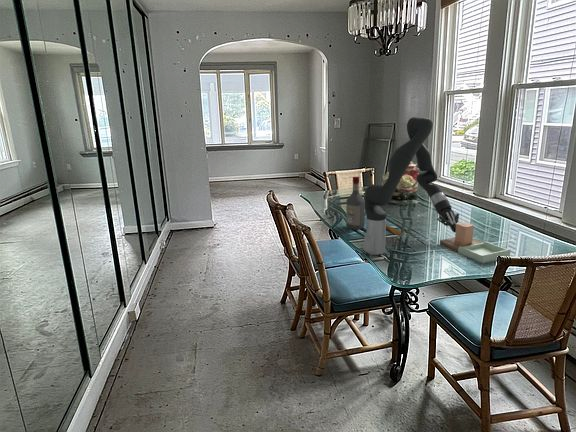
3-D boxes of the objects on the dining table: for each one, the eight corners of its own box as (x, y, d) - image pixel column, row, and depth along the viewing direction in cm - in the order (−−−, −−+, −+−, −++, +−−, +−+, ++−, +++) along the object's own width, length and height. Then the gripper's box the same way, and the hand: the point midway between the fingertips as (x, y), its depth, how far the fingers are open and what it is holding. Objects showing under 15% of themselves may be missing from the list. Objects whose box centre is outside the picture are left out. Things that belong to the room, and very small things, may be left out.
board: (457, 252, 181) (458, 247, 181) (439, 244, 192) (440, 240, 191) (483, 247, 187) (483, 242, 186) (464, 240, 197) (464, 235, 197)
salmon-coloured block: (464, 244, 184) (465, 227, 182) (454, 240, 190) (456, 223, 187) (472, 243, 186) (473, 225, 183) (462, 239, 191) (464, 222, 189)
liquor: (357, 230, 218) (358, 179, 210) (344, 227, 224) (344, 177, 216) (366, 226, 224) (367, 176, 216) (353, 224, 230) (353, 175, 222)
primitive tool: (403, 234, 210) (404, 228, 209) (396, 236, 208) (396, 230, 207) (382, 225, 227) (382, 219, 226) (374, 227, 225) (374, 221, 224)
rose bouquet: (377, 198, 291) (378, 159, 282) (413, 195, 294) (415, 157, 285) (389, 206, 266) (391, 163, 258) (429, 203, 269) (432, 161, 261)
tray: (482, 263, 168) (483, 255, 167) (457, 252, 181) (458, 244, 180) (509, 257, 173) (510, 249, 172) (483, 247, 187) (484, 239, 185)
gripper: (434, 200, 193) (450, 230, 186) (454, 197, 198) (471, 226, 190) (426, 208, 200) (441, 237, 192) (446, 205, 204) (462, 233, 196)
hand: (456, 231), depth 191 cm, fingers closed
